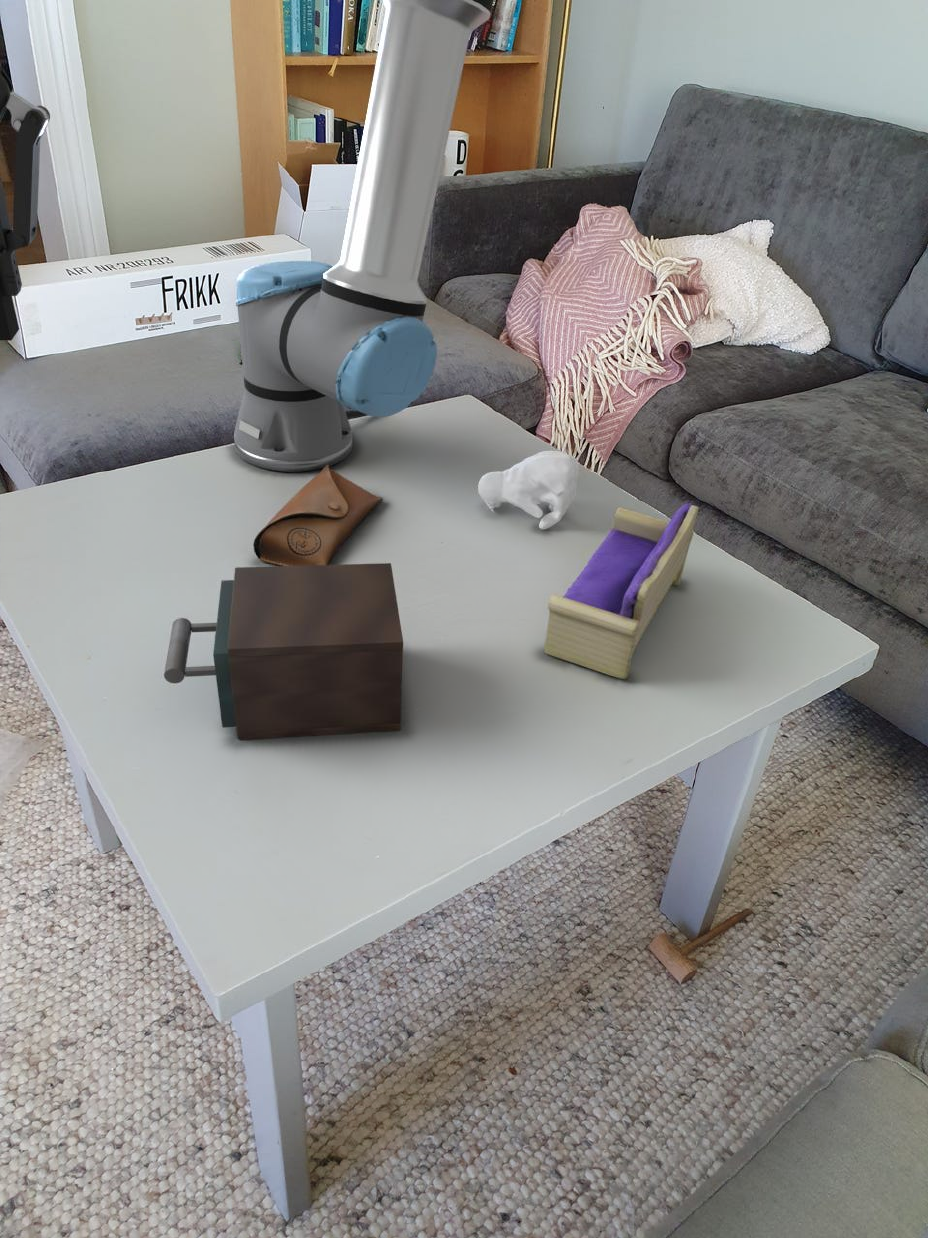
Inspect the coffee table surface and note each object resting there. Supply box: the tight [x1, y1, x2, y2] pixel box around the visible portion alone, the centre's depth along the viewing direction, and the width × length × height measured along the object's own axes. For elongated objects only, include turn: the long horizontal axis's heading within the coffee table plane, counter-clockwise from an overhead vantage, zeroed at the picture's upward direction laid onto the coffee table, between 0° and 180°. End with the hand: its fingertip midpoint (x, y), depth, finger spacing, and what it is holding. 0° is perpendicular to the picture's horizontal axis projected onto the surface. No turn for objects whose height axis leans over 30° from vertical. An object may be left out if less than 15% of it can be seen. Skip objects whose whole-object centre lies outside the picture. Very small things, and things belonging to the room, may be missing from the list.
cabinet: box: [228, 562, 404, 740], centre depth 79 cm, size 14×12×10 cm
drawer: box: [163, 579, 236, 729], centre depth 78 cm, size 17×10×8 cm, turn 99°
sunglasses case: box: [252, 465, 383, 566], centre depth 103 cm, size 18×7×7 cm
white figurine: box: [477, 450, 580, 531], centre depth 108 cm, size 6×8×12 cm
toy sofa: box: [544, 503, 699, 680], centre depth 91 cm, size 21×9×10 cm, turn 154°
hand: (5, 334), depth 75 cm, fingers closed
